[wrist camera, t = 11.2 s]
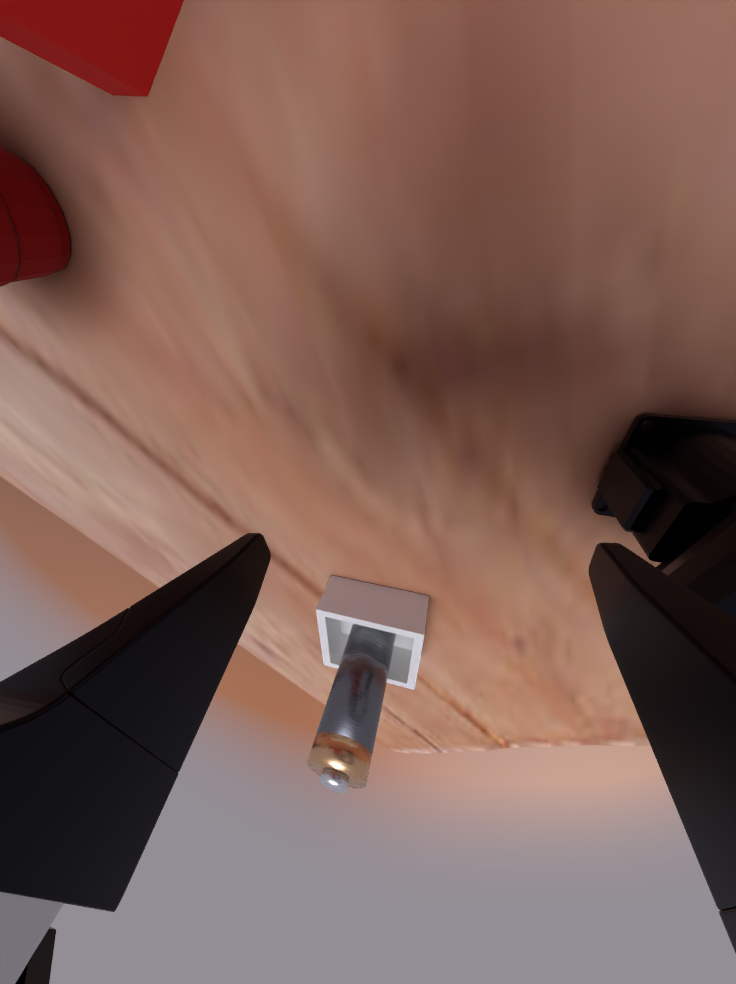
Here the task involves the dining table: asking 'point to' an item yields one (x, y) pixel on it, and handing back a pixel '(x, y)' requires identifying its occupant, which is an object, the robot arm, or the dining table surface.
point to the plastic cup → (29, 224)
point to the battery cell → (353, 711)
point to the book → (95, 38)
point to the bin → (373, 623)
